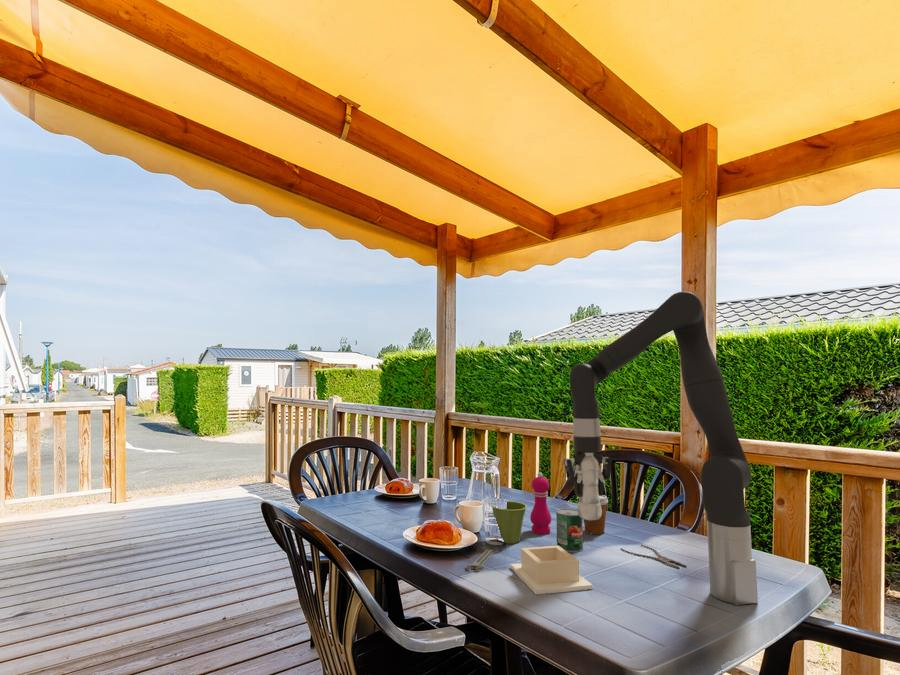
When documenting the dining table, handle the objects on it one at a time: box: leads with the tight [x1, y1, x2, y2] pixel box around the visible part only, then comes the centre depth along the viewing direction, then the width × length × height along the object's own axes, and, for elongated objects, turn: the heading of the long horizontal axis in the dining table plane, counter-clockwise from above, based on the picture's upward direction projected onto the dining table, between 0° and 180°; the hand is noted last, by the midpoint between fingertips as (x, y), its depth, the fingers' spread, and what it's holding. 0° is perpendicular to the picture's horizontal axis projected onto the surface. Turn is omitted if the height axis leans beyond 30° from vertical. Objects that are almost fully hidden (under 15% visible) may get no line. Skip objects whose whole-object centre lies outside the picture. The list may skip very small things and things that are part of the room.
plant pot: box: [490, 500, 528, 545], centre depth 162 cm, size 12×12×11 cm
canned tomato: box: [555, 508, 584, 553], centre depth 154 cm, size 8×8×11 cm
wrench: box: [466, 545, 499, 573], centre depth 144 cm, size 5×20×1 cm, turn 159°
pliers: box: [620, 544, 688, 570], centre depth 147 cm, size 10×1×20 cm
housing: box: [510, 545, 593, 595], centre depth 130 cm, size 18×15×6 cm
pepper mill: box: [529, 472, 552, 535], centre depth 172 cm, size 7×7×20 cm
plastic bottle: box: [575, 453, 602, 520], centre depth 139 cm, size 6×7×20 cm
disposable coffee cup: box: [583, 494, 609, 535], centre depth 172 cm, size 10×10×12 cm
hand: (589, 495), depth 139 cm, fingers closed on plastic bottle, 5 cm apart
